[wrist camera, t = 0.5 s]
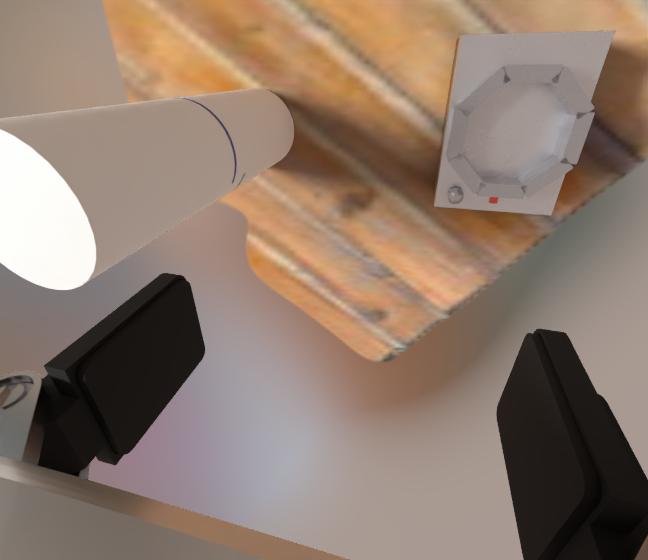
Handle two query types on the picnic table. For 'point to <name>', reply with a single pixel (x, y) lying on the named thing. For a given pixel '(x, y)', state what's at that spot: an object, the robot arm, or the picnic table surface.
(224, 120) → the cylindrical container
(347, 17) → the picnic table surface
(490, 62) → the octagonal metal flange
